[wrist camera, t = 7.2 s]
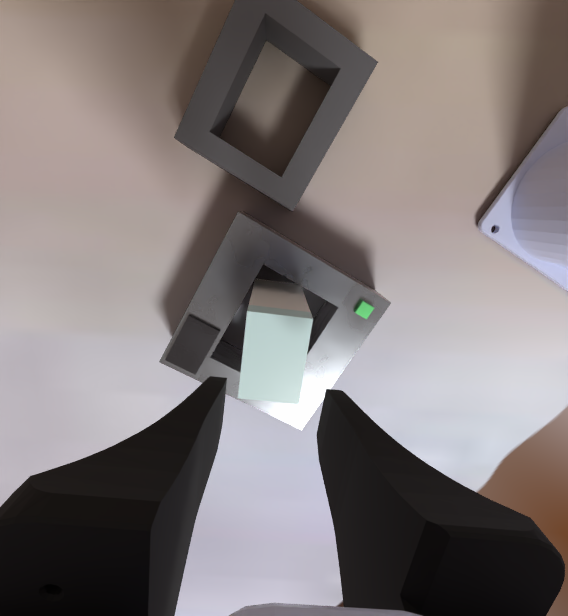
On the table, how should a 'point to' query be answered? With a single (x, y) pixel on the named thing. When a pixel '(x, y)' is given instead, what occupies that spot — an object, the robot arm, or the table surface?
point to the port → (230, 293)
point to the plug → (275, 342)
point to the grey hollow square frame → (235, 71)
